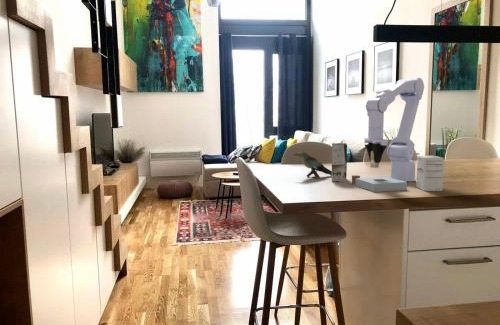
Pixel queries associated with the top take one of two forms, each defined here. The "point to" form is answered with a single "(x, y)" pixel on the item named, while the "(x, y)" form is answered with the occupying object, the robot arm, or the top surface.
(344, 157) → the coffee box
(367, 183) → the hole board
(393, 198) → the top surface
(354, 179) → the short dowel
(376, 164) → the long dowel
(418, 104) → the robot arm
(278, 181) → the top surface
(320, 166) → the bird figurine
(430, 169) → the supplement box
